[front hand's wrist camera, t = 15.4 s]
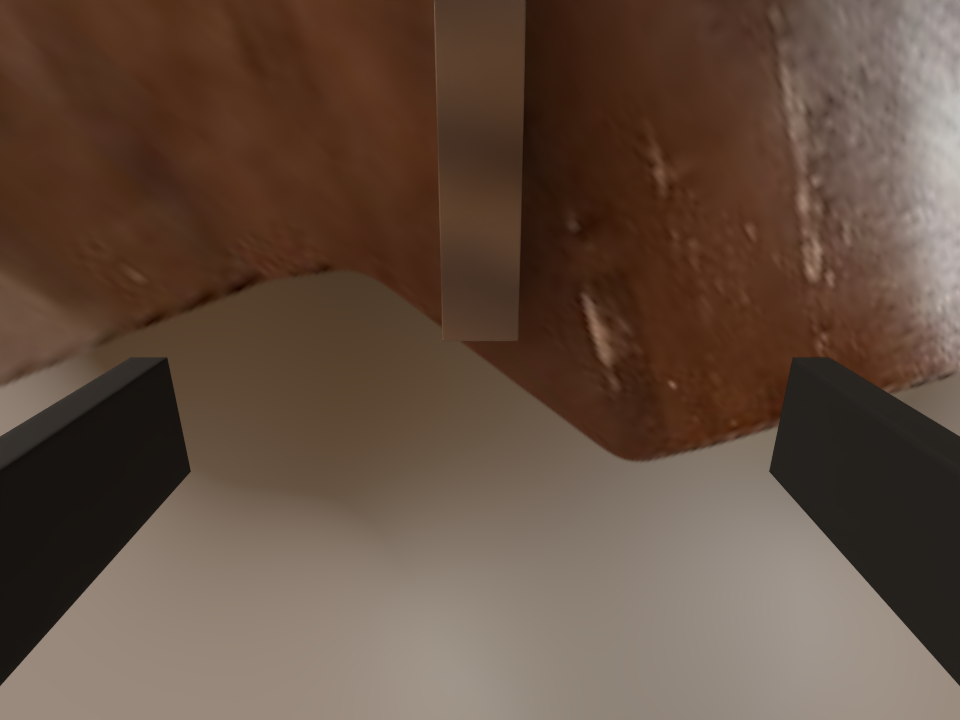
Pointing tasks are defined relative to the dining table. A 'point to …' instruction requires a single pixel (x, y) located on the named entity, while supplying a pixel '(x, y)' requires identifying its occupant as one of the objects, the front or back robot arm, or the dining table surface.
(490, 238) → the bar
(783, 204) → the dining table surface
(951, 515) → the front robot arm
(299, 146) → the dining table surface
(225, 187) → the dining table surface
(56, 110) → the dining table surface
